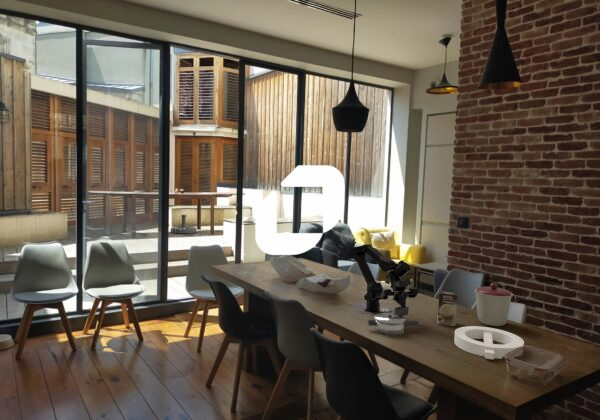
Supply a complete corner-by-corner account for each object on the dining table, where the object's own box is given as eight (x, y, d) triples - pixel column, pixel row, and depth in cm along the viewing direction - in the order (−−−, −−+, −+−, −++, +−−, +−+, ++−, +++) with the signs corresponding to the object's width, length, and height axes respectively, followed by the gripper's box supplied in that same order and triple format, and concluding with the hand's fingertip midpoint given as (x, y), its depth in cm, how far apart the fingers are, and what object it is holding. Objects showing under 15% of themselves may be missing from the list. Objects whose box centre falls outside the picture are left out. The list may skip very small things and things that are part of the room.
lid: (367, 317, 212) (367, 307, 212) (395, 312, 223) (395, 303, 223) (389, 326, 200) (390, 315, 200) (417, 320, 211) (418, 310, 211)
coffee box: (436, 324, 223) (438, 293, 222) (436, 320, 229) (438, 290, 228) (455, 326, 220) (457, 295, 219) (455, 323, 226) (457, 292, 225)
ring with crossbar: (489, 363, 176) (490, 351, 175) (440, 339, 201) (441, 329, 201) (538, 354, 187) (539, 343, 186) (486, 333, 212) (487, 323, 212)
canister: (481, 316, 241) (483, 278, 239) (516, 324, 228) (519, 284, 227) (467, 322, 228) (469, 282, 227) (502, 331, 215) (505, 289, 214)
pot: (364, 325, 216) (364, 315, 216) (411, 325, 219) (412, 315, 219) (372, 335, 203) (372, 324, 202) (422, 335, 206) (423, 324, 205)
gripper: (383, 273, 220) (391, 301, 210) (417, 272, 224) (427, 299, 214) (377, 285, 228) (385, 312, 218) (410, 283, 232) (419, 310, 222)
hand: (404, 308), depth 218 cm, fingers closed, pressing on lid
